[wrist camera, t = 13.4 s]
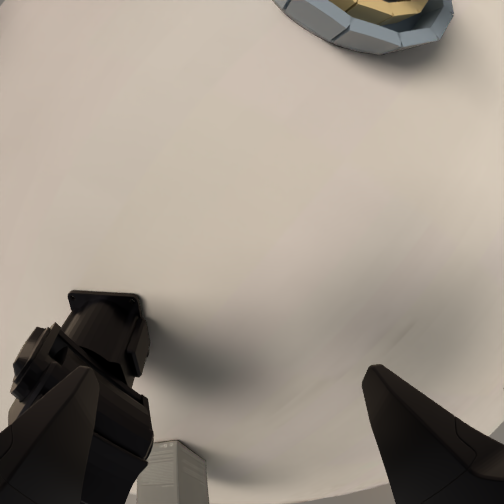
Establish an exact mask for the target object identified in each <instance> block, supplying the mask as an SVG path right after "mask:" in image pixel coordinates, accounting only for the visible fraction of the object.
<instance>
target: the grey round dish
mask: <svg viewBox="0 0 504 504" xmlns="http://www.w3.org/2000/svg"><path fill="white" fill-rule="evenodd" d="M273 2H274V3H275V4H276V5H277V6H278V7H279V8H280V9H281V10H282V11H283V12H284V13H285V14H286V15H287V16H288V17H290V18H291V19H292V20H293V21H294V22H296V23H297V24H299V25H300V26H301V27H303V28H304V29H306V30H307V31H309V32H311V33H312V34H314V35H316V36H318V37H320V38H322V39H324V40H326V41H328V42H330V43H333V44H335V45H338V46H340V47H343V48H347V49H350V50H353V51H358V52H363V53H372V54H377V55H379V54H381V55H383V54H387V53H392V52H396V51H399V50H404V49H408V48H413V47H417V46H420V45H423V44H427V43H431V42H434V41H438V40H439V39H440V38H441V37H442V35H443V33H444V31H445V30H446V28H447V26H448V24H449V23H450V21H451V19H452V17H453V15H452V14H454V12H453V6H452V0H273Z"/></svg>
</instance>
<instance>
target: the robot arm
mask: <svg viewBox="0 0 504 504" xmlns="http://www.w3.org/2000/svg"><path fill="white" fill-rule="evenodd" d="M73 296H74V297H75V298H74V297H73ZM130 299H133V300H134V301H135V302H132V301H131V300H130ZM68 300H69V303H70V307H71V310H72V312H71V313H70V315H69V316H68V318H67V319H66V321H65V322H64V324H63V325H62V327H60V326H59V325H58V324H57V323H56V322H55V323H54V324H53V325H52V326H51V327H50V328H49V327H48V328H47V329H46V328H45V329H44V328H40V327H36V328H35V330H34V331H33V332H32V334H31V335H30V337H29V338H28V339H27V341H26V342H25V344H24V345H23V347H22V349H21V350H20V352H19V354H18V356H17V358H16V360H15V361H14V363H13V368H14V373H15V376H14V379H13V384H12V388H11V391H10V393H11V394H12V395H14V396H15V397H16V399H15V401H14V403H13V404H12V406H11V408H10V410H9V413H8V427H7V428H5V429H4V430H3V431H2V432H1V433H0V504H125V502H126V499H127V496H128V494H129V492H130V489H131V487H132V485H133V483H134V482H135V480H136V479H137V477H138V476H139V474H140V473H141V472H142V471H143V470H144V469H145V468H146V467H147V466H148V461H146V460H147V458H148V457H149V455H150V453H151V450H152V447H153V441H154V438H153V437H154V433H153V430H152V424H151V417H150V411H149V403H148V398H146V397H145V396H143V395H140V394H139V393H137V392H136V391H134V390H133V389H132V385H133V381H134V378H135V377H140V376H141V375H142V372H143V368H144V364H145V360H146V357H148V354H149V345H150V339H149V334H148V329H147V324H146V320H145V319H144V318H142V313H141V308H140V302H139V298H138V296H137V295H135V294H127V293H107V292H90V291H76V290H72V291H70V292H69V294H68ZM362 389H363V393H364V398H365V402H366V406H367V411H368V416H369V420H370V424H371V427H372V430H373V433H374V436H375V439H376V442H377V445H378V448H379V451H380V454H381V457H382V460H383V463H384V466H385V470H386V473H387V476H388V479H389V482H390V485H391V489H392V492H393V496H394V499H395V502H396V504H504V445H503V444H502V443H500V442H498V441H496V440H494V439H492V438H490V437H488V436H486V435H484V434H483V433H481V432H479V431H477V430H476V429H474V428H472V427H471V426H469V425H468V424H466V423H464V422H463V421H461V420H460V419H459V418H457V417H454V415H453V414H451V413H450V412H448V411H447V410H446V409H444V408H443V407H441V406H440V405H438V404H437V403H435V402H434V401H433V400H431V399H430V398H428V397H427V396H426V395H424V394H423V393H421V392H420V391H418V390H417V389H416V388H414V387H413V386H411V385H410V384H409V383H407V382H406V381H404V380H403V379H401V378H400V377H399V376H397V375H396V374H394V373H393V372H392V371H390V370H389V369H387V368H386V367H385V366H383V365H381V364H376V365H371V366H370V367H369V368H368V370H367V372H366V374H365V377H364V379H363V381H362Z"/></svg>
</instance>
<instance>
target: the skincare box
mask: <svg viewBox="0 0 504 504" xmlns="http://www.w3.org/2000/svg"><path fill="white" fill-rule="evenodd" d="M146 461H148V466H147V467H146V468H145V469H144V470H143V471H142V472H141V473H140V474H139V476H138V478H137V504H209V495H208V485H207V473H206V461H205V460H203V459H202V458H201V457H199V456H198V455H196V454H195V453H193V452H192V451H191V450H189V449H188V448H187V447H185V446H184V445H183V444H181V443H180V442H179V441H177V440H176V441H168V442H162V443H153V447H152V450H151V453H150V455H149V457H148V458H147V460H146Z"/></svg>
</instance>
